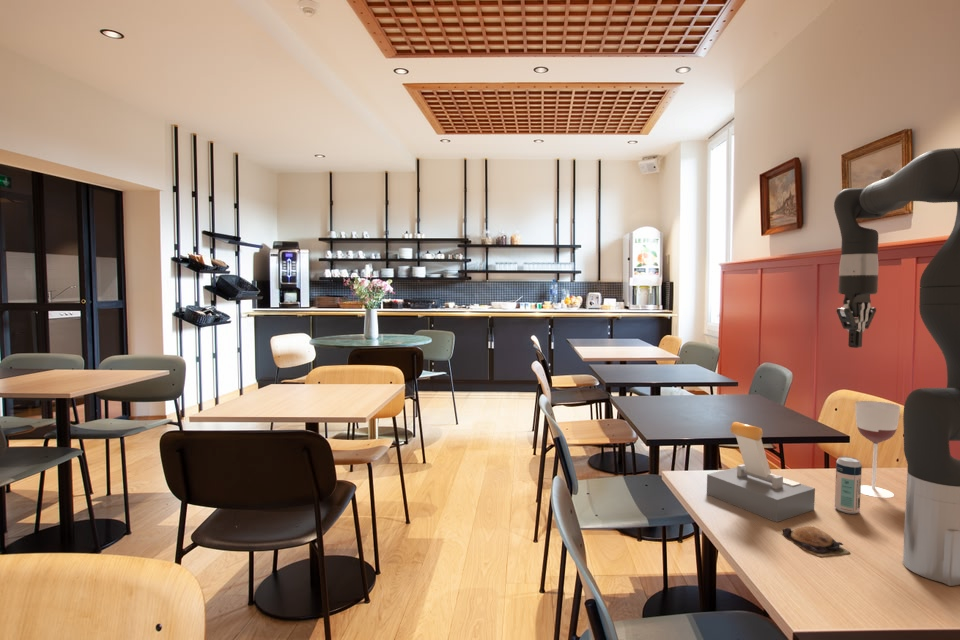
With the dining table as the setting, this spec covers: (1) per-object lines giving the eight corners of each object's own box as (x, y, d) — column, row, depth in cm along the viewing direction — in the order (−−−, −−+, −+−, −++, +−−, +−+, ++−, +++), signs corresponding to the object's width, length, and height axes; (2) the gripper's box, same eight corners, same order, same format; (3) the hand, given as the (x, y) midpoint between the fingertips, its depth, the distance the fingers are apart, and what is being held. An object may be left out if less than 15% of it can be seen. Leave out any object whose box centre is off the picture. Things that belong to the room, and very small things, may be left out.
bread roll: (854, 557, 102) (855, 538, 102) (816, 561, 101) (817, 542, 100) (810, 531, 113) (811, 515, 112) (775, 535, 111) (776, 518, 111)
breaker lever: (750, 470, 131) (735, 418, 127) (778, 479, 125) (762, 425, 121) (743, 477, 129) (727, 425, 126) (770, 486, 123) (755, 432, 120)
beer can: (851, 506, 124) (853, 456, 123) (864, 515, 119) (866, 463, 119) (830, 505, 125) (832, 455, 124) (841, 514, 120) (843, 462, 119)
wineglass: (843, 488, 136) (847, 403, 134) (866, 482, 140) (869, 399, 138) (881, 500, 128) (885, 410, 126) (904, 494, 132) (908, 406, 130)
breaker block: (743, 484, 138) (744, 455, 138) (814, 509, 123) (815, 477, 122) (706, 494, 132) (707, 464, 131) (776, 522, 116) (777, 488, 115)
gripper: (860, 273, 119) (857, 350, 120) (891, 274, 125) (887, 347, 126) (825, 274, 125) (822, 347, 126) (856, 274, 131) (853, 344, 132)
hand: (855, 347), depth 126 cm, fingers closed
